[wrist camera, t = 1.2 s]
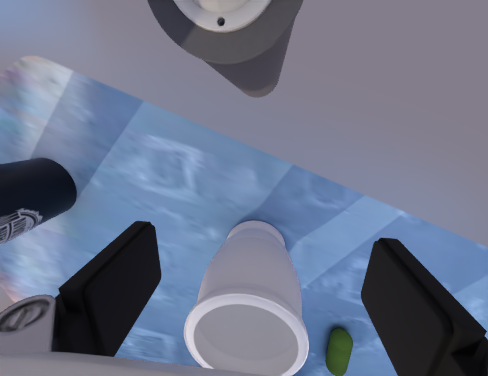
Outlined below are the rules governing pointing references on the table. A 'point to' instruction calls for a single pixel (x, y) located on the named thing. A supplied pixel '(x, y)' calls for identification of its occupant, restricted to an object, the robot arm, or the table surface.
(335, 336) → the pickle
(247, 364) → the jar
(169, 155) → the table surface
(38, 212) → the water bottle
